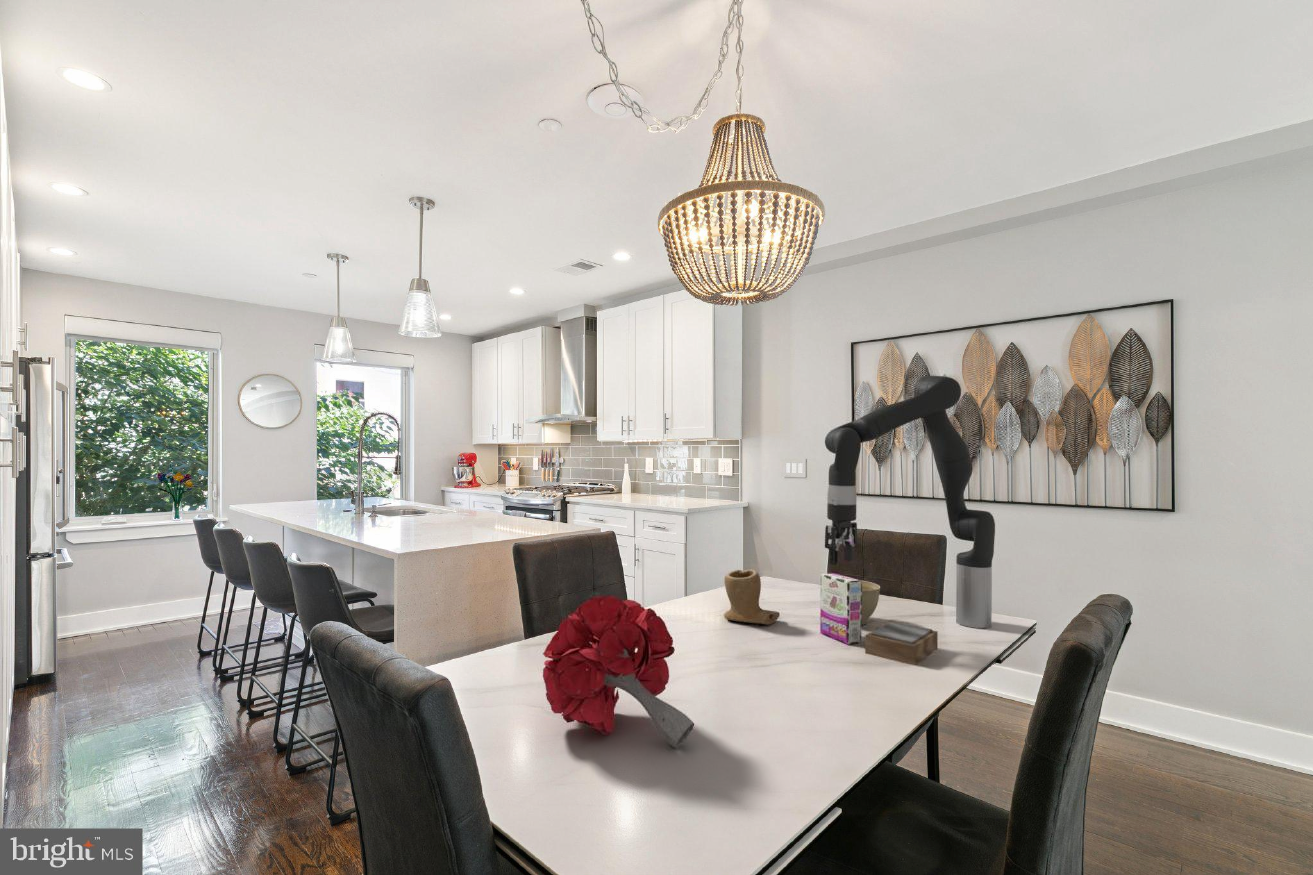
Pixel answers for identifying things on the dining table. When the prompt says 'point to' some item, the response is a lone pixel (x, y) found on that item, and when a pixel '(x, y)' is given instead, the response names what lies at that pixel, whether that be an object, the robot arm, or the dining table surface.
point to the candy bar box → (841, 608)
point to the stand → (901, 642)
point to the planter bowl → (869, 600)
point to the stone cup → (746, 598)
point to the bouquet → (612, 666)
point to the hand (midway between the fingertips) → (841, 562)
